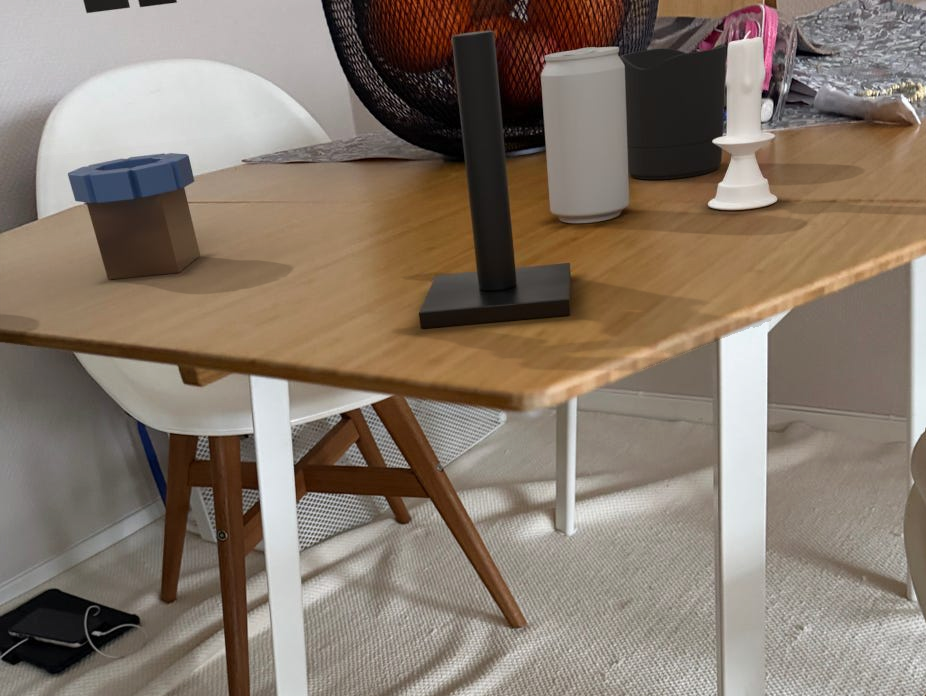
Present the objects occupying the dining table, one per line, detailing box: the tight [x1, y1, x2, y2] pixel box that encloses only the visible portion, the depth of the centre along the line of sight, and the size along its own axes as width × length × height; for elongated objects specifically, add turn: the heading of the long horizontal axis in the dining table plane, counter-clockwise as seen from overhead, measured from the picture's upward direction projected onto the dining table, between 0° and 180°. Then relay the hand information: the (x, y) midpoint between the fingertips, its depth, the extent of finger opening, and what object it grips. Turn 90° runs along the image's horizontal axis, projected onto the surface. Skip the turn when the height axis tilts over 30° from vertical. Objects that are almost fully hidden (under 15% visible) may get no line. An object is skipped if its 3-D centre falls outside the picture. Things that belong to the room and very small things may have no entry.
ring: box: [67, 152, 195, 204], centre depth 87 cm, size 9×9×2 cm
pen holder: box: [618, 43, 728, 180], centre depth 99 cm, size 9×9×10 cm
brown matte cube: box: [86, 187, 201, 281], centre depth 89 cm, size 6×6×6 cm
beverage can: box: [540, 46, 630, 224], centre depth 86 cm, size 6×6×12 cm
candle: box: [707, 30, 778, 211], centre depth 83 cm, size 5×5×12 cm
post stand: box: [418, 30, 572, 330], centre depth 65 cm, size 9×9×15 cm
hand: (135, 8), depth 77 cm, fingers open, 13 cm apart
